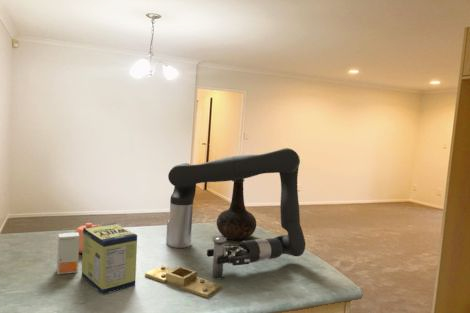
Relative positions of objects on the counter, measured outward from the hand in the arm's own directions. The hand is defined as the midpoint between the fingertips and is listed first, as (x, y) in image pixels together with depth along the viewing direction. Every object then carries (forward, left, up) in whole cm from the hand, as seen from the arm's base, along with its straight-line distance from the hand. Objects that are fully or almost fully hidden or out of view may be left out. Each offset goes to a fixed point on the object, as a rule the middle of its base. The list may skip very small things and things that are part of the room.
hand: (212, 256), depth 113 cm
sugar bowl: (-50, -7, -7) cm, 51 cm away
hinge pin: (+1, +2, -7) cm, 7 cm away
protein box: (-24, -21, -7) cm, 33 cm away
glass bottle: (-15, +43, -7) cm, 46 cm away
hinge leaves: (-6, -8, -7) cm, 12 cm away
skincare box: (-39, -24, -7) cm, 46 cm away
